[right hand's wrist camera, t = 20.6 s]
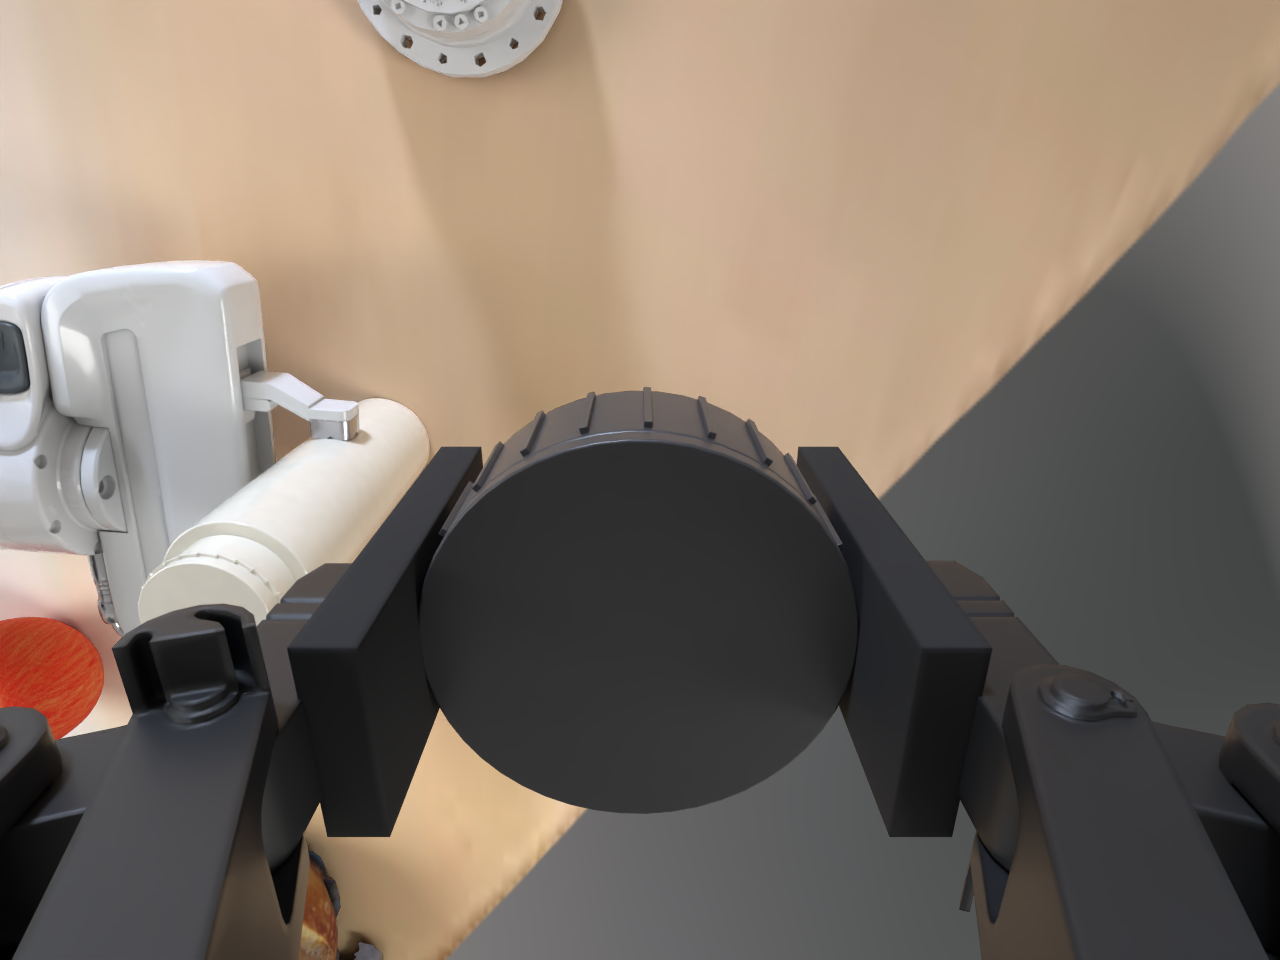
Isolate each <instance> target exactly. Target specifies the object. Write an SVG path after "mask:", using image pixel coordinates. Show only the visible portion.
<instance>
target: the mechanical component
mask: <svg viewBox="0 0 1280 960" xmlns="http://www.w3.org/2000/svg"><path fill="white" fill-rule="evenodd" d="M562 2H563V0H358V3H359V5H360V8H361V10H362V11H363V12H364V14H365V15H366V16H367V18H368V19H369V20H370V22H371V23H372V24H373V26H374V27H375V28H376V30H377V31H378V32H379V34H380V35H381V36H382V37H383V38H384V39H385V40H387V41H388V42H389V43H390V44H391V45H392V46H393V47H394V48H395V49H396V50H397V51H399V52H400V53H401V54H403V55H405V56H406V57H408V58H409V59H411V60H412V61H414V62H416V63H417V64H419V65H420V66H422V67H425V68H427V69H430V70H433V71H435V72H438V73H440V74H443V75H446V76H448V77H451V78H481V77H487V76H490V75H493V74H497V73H500V72H504V71H506V70H508V69H510V68H511V67H513V66H515V65H516V64H518V63H520V62H522V61H523V60H525V59H526V58H527V57H528V56H529V55H530V54H531V53H532V52H533V51H534V50H535V49H536V48H537V47H538V46H539V45H540V44H541V43H542V42H543V41H544V39H545V37H546V35H547V34H548V32H549V30H550V28H551V27H552V25H553V23H554V21H555V19H556V18H557V16H558V14H559V12H560V9H561V5H562ZM538 12H545V13H546V14H545V17H544V19H543V21H542V20H536V17H537V15H538ZM380 13H381V14H380ZM411 39H412V41H413V44H412V46H411V48H407V44H408V40H411ZM517 42H518V48H515V49H513V45H514V44H516V43H517ZM446 57H447V63H444V61H445V59H446ZM482 57H485V59H486V63H485V64H484V65H483V66H481V67H480V66H479V59H480V58H482ZM443 63H444V64H443Z"/></svg>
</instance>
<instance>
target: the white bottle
mask: <svg viewBox="0 0 1280 960" xmlns="http://www.w3.org/2000/svg"><path fill="white" fill-rule="evenodd" d="M357 403H358V404H359V431H360V433H358V434H355V437H354V438H352V439H350V440H343V441H341V440H335V439H333V438H332V437H329V438H327V439H317V438H312V436H310V437H309V438H308V439H306V440H305V441H304V442H302V443H301V444H300V445H298V446H297V447H296V448H294V449H293V450H292V451H291V452H289V453H288V454H287V455H285V456H284V457H283V458H281V459H280V460H279V461H277V462H276V463H275V464H273V465H272V466H271V467H269V468H268V469H267V470H265V471H264V472H263V473H261V474H260V475H259V476H257V477H256V478H255V479H253V480H252V481H251V482H249V483H248V484H247V485H245V486H244V487H243V488H241V489H240V490H239V491H237V492H236V493H235V494H233V495H232V496H231V497H229V498H228V499H227V500H225V501H224V502H223V503H221V504H220V505H219V506H217V507H216V508H215V509H213V510H212V511H211V512H210V513H208V514H207V515H206V516H204V517H203V518H202V519H200V520H199V521H198V522H196V523H195V524H194V525H192V526H191V527H190V528H188V529H187V530H186V531H184V532H183V533H182V534H180V535H179V536H178V537H177V538H176V539H175V540H174V541H173V542H172V544H171V545H170V547H169V548H168V550H167V552H166V554H165V557H164V561H163V563H162V564H161V565H160V566H159V567H157V568H156V569H155V570H154V571H153V572H151V573H150V574H149V576H148V577H147V579H146V581H145V583H144V585H143V586H142V587H141V590H140V597H139V602H138V603H137V604H138V614H139V621H140V623H141V624H143V623H145V622H146V621H148V620H151V619H153V618H156V617H159V616H161V615H164V614H166V613H169V612H172V611H175V610H179V609H184V608H188V607H193V606H197V605H207V604H230V605H235V606H241V607H244V608H245V609H246V610H248V611H249V612H251V613H252V614H253V615H254V618H255V622H256V627H257V625H258V624H259V623H260V622H261V621H262V620H266V615H267V614H268V613H269V612H270V611H271V609H272V608H273V607H274V606H275V605H276V604H277V603H280V599H281V598H282V597H283V596H284V595H285V593H286V592H287V591H288V590H289V589H290V588H291V587H292V585H293V584H294V583H295V582H296V581H297V580H298V579H300V578H301V577H303V576H305V575H306V574H308V573H310V572H311V571H313V570H315V569H317V568H318V567H320V566H322V565H323V564H325V563H353V561H354V560H355V559H356V558H357V556H358V555H359V554H360V552H361V551H362V550H363V548H364V547H365V546H366V545H367V543H368V542H369V541H370V539H371V538H372V537H373V535H374V534H375V533H376V531H377V530H378V529H379V527H380V526H381V525H382V523H383V522H384V521H385V520H386V518H387V517H388V516H389V514H390V513H391V512H392V510H393V509H394V508H395V506H396V505H397V504H398V502H399V501H400V500H401V498H402V497H403V496H404V494H405V493H406V492H407V490H408V489H409V488H410V486H411V485H412V484H413V482H414V481H415V480H416V478H417V477H418V476H419V475H420V473H421V472H422V471H423V469H424V467H425V466H426V463H427V461H428V457H429V451H430V444H429V438H428V435H427V432H426V430H425V427H424V426H423V424H422V422H421V421H420V420H419V418H418V417H417V416H416V415H415V414H414V413H413V412H412V411H411V410H409V409H408V408H407V407H405V406H403V405H402V404H399V403H397V402H395V401H392V400H388V399H383V398H371V399H365V400H362V401H359V402H357Z"/></svg>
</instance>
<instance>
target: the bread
mask: <svg viewBox="0 0 1280 960" xmlns="http://www.w3.org/2000/svg"><path fill="white" fill-rule="evenodd" d="M308 854H309V861H310V867H309V875H308V884H307V892H306V900H305V908H304V917H303V925H302V933H301V942H300V950H299V958H298V960H339V956H340V953H339V951H338V949H337V920H336V917H337V914H338V912H339V909H340V898H339V893H338V889H337V885H336V881H335V880H334V879H333V878H331V877H329V876H327V873H326V869H325V865H324V863H323V861H322V859H321V857H319V856H318V855H317V854H315V853H314V852H312V851H310V850H308ZM358 944H359V948H360V950H359V951H358V952H357V953H354V955H355V956H356V958H355V959H354V960H383V954H382V953H381V952H380V951H379V950H377V949H376V948H375V947H374V946H373V945H370V944H365V943H362V942H359V943H358Z"/></svg>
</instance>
